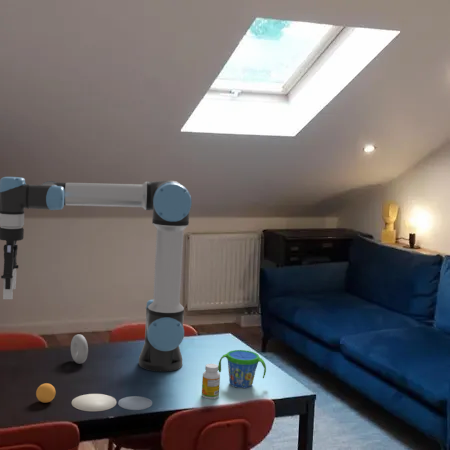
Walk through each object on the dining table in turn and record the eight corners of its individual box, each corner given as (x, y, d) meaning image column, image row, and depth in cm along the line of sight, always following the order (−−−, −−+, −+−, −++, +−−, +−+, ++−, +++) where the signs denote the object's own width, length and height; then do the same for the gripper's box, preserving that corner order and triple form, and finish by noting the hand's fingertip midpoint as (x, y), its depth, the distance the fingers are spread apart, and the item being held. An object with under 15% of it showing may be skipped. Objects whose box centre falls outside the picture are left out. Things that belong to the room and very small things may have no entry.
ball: (56, 398, 204) (57, 380, 204) (54, 405, 199) (54, 387, 198) (37, 398, 204) (38, 380, 203) (34, 405, 198) (34, 387, 198)
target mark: (117, 394, 210) (117, 394, 210) (115, 411, 197) (115, 411, 197) (74, 394, 209) (74, 393, 209) (69, 411, 196) (69, 410, 196)
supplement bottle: (201, 392, 216) (202, 362, 215) (218, 392, 217) (220, 363, 215) (201, 398, 211) (203, 368, 210) (219, 399, 211) (221, 368, 210)
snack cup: (268, 383, 228) (270, 353, 226) (260, 394, 218) (262, 363, 216) (223, 375, 232) (225, 346, 231) (213, 386, 222) (215, 355, 221)
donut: (89, 366, 233) (90, 338, 232) (79, 368, 231) (80, 339, 230) (78, 357, 242) (78, 330, 240) (68, 359, 240) (69, 331, 238)
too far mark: (152, 397, 210) (152, 396, 210) (152, 410, 200) (152, 409, 200) (118, 396, 209) (118, 396, 209) (117, 409, 199) (117, 409, 199)
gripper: (2, 221, 224) (0, 284, 227) (-6, 232, 200) (-8, 303, 203) (26, 221, 226) (24, 285, 229) (21, 233, 202) (19, 303, 205)
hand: (9, 293), depth 216 cm, fingers open, 13 cm apart
